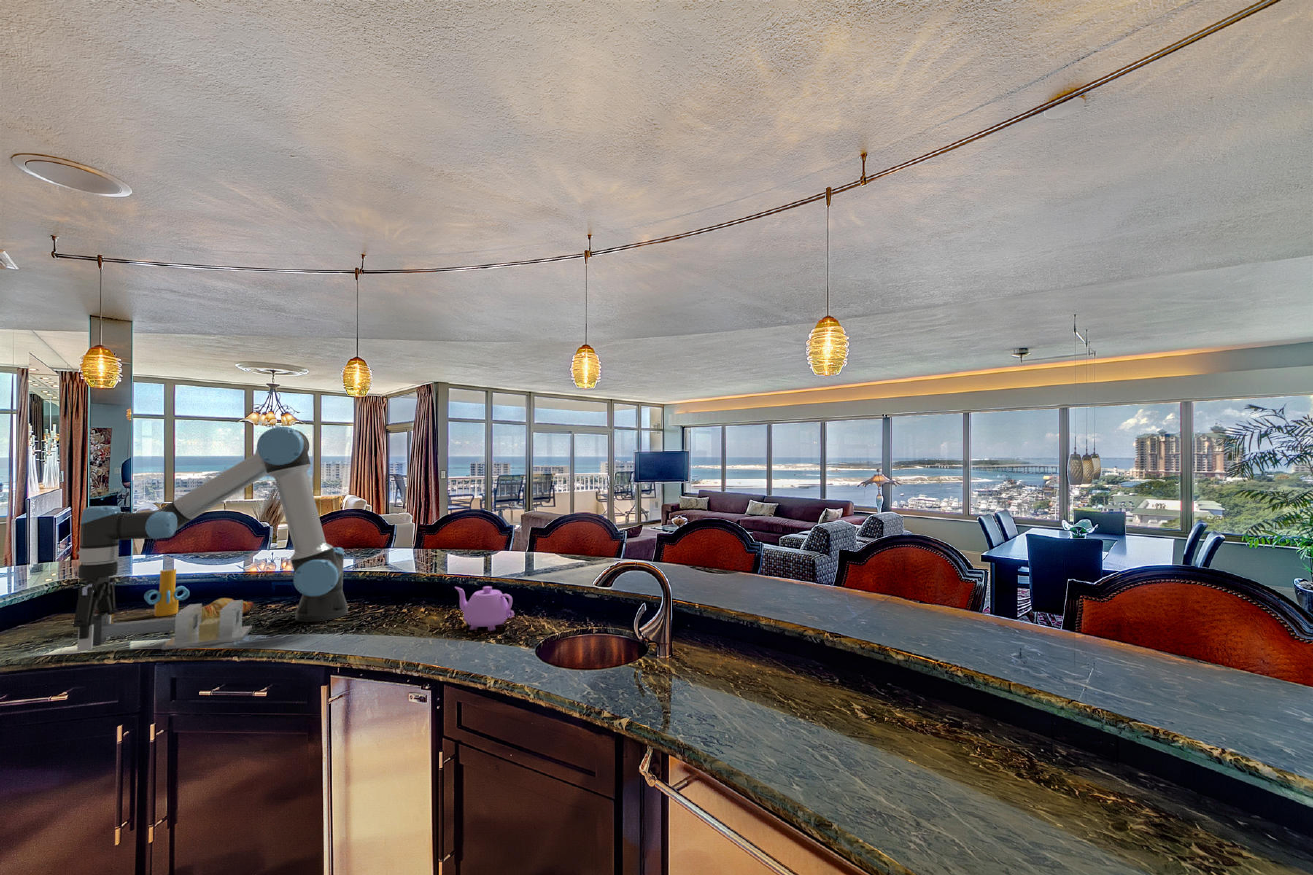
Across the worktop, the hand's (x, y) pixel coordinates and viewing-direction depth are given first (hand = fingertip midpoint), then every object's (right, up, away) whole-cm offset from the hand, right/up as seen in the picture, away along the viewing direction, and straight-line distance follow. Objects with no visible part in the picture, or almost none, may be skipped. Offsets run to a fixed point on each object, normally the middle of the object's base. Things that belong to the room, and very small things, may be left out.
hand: (94, 644), depth 145 cm
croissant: (+8, -4, +31) cm, 32 cm away
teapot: (+99, -4, +25) cm, 103 cm away
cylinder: (-13, -4, +36) cm, 38 cm away
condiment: (-20, -3, +19) cm, 28 cm away
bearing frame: (+22, -3, +11) cm, 25 cm away
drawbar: (+9, 0, +4) cm, 10 cm away
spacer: (+21, 0, +11) cm, 23 cm away
